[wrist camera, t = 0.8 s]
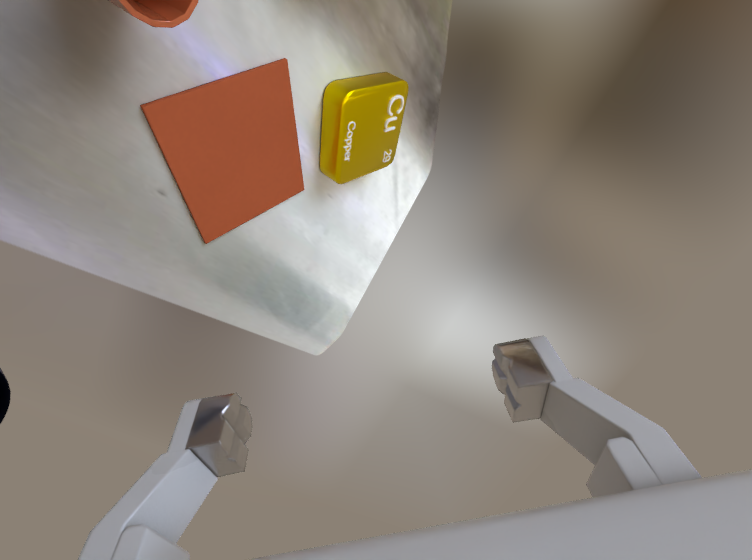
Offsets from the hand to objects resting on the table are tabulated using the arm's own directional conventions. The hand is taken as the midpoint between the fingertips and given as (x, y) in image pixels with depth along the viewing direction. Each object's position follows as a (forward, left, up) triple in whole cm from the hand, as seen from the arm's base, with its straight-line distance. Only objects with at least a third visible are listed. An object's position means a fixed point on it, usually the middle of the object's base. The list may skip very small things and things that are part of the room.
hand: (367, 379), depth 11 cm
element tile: (+37, -21, -39) cm, 58 cm away
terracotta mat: (+16, -18, -39) cm, 46 cm away
